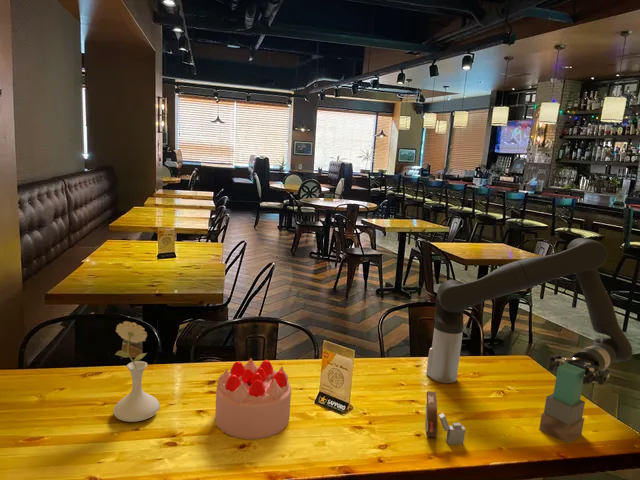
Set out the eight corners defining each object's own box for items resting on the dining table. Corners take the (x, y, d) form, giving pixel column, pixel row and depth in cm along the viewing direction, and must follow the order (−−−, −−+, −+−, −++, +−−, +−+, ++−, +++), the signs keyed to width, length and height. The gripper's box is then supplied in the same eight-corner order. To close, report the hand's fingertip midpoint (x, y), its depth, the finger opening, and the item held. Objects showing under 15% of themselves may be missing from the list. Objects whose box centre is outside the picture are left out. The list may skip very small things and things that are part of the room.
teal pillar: (552, 397, 127) (558, 366, 125) (561, 392, 130) (566, 362, 128) (571, 405, 123) (577, 374, 121) (579, 400, 126) (585, 369, 124)
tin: (436, 444, 118) (440, 413, 117) (424, 441, 119) (427, 411, 117) (434, 413, 133) (438, 386, 131) (423, 412, 133) (426, 384, 132)
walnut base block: (539, 430, 128) (541, 413, 128) (552, 421, 134) (554, 405, 133) (569, 444, 122) (572, 427, 122) (581, 434, 127) (584, 418, 127)
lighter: (460, 440, 121) (464, 412, 119) (463, 444, 119) (467, 416, 117) (434, 441, 120) (438, 412, 118) (437, 445, 118) (440, 416, 116)
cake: (217, 444, 112) (219, 390, 109) (213, 402, 131) (214, 354, 128) (296, 436, 117) (299, 384, 115) (281, 397, 136) (284, 351, 134)
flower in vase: (168, 410, 125) (170, 322, 121) (136, 431, 115) (136, 335, 110) (133, 397, 130) (133, 312, 126) (98, 416, 120) (97, 324, 116)
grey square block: (543, 413, 128) (546, 396, 127) (556, 406, 132) (559, 390, 131) (569, 425, 122) (572, 408, 121) (581, 418, 126) (584, 401, 126)
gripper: (567, 340, 139) (543, 351, 129) (621, 357, 128) (599, 371, 118) (563, 363, 140) (539, 376, 130) (616, 382, 130) (594, 398, 119)
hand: (567, 374), depth 124 cm, fingers open, 8 cm apart
